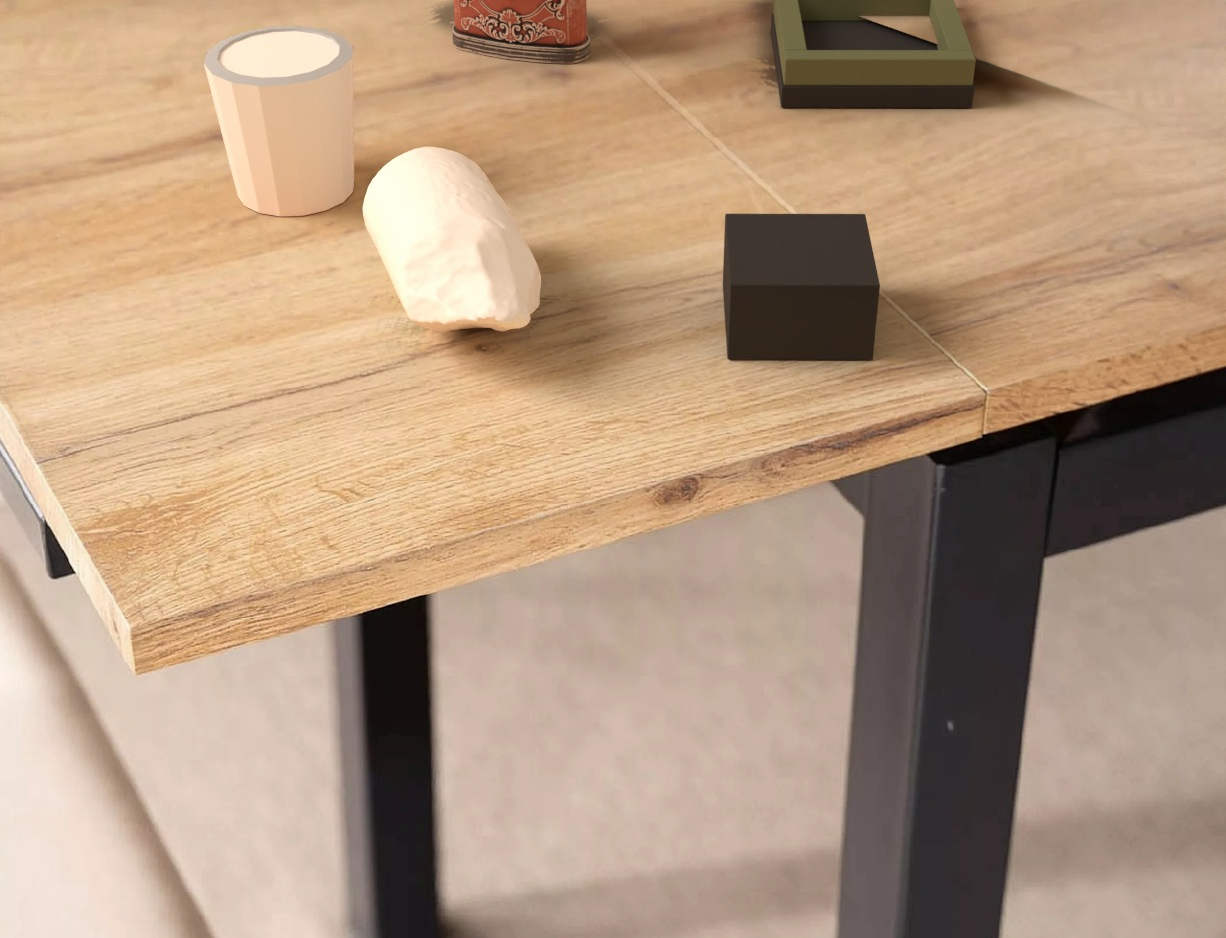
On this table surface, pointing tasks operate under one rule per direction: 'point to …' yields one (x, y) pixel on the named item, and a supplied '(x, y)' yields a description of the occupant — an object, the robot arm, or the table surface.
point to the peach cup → (286, 117)
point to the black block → (799, 287)
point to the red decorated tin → (523, 29)
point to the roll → (450, 243)
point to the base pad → (869, 55)
